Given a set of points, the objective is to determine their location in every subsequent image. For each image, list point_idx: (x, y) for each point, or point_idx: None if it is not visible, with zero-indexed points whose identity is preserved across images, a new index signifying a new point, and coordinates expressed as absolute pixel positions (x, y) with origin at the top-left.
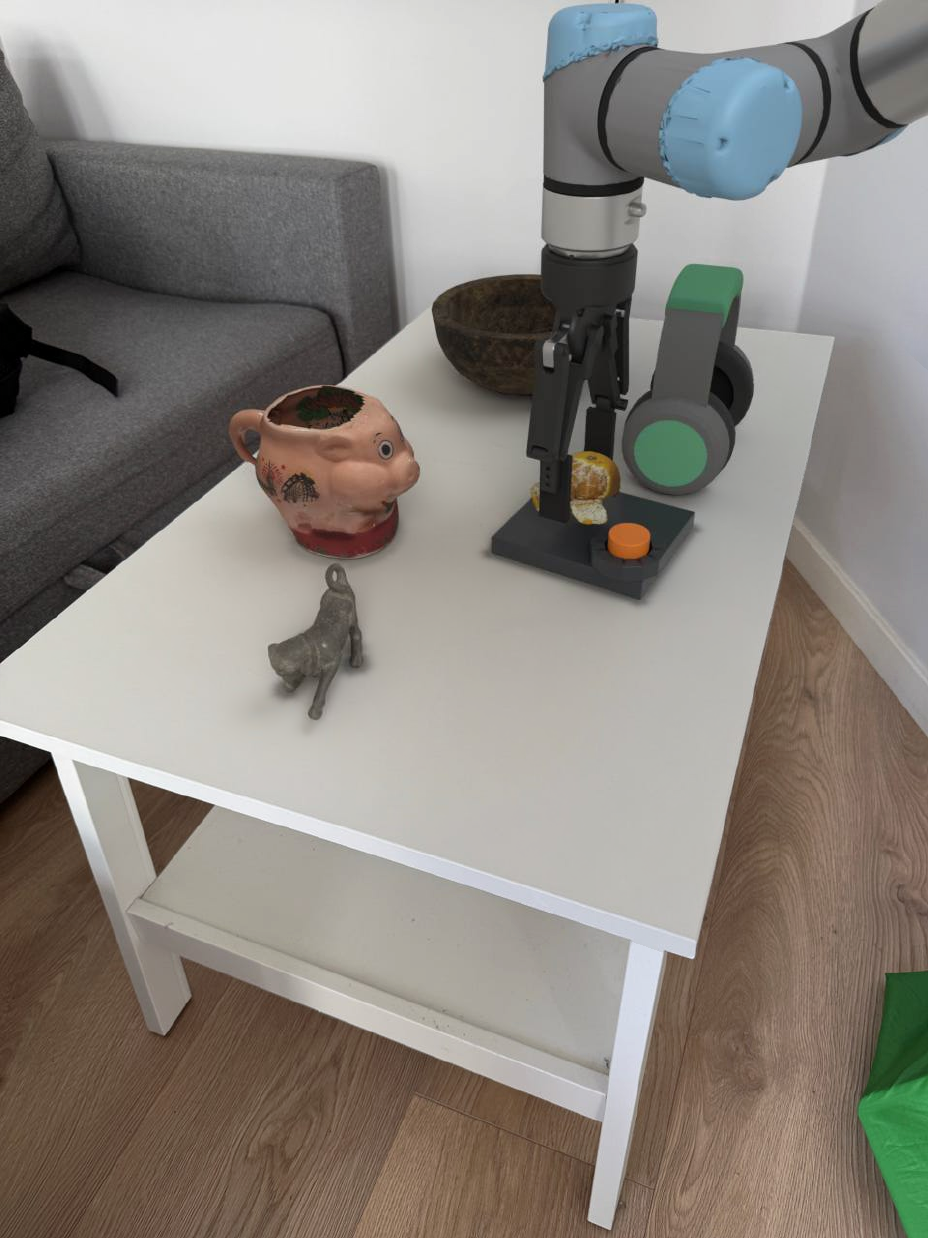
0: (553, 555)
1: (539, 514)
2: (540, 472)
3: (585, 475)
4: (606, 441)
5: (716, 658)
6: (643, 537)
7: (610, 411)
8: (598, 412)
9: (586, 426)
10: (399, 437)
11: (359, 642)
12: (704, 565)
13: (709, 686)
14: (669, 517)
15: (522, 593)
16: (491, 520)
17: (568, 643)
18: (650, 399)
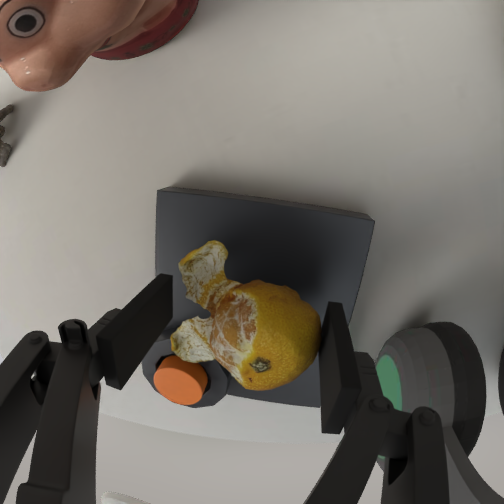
0: None
1: (159, 274)
2: (118, 313)
3: (219, 354)
4: (322, 380)
5: (138, 410)
6: (178, 399)
7: (340, 426)
8: (332, 409)
9: (336, 359)
10: (11, 40)
11: (1, 157)
12: (252, 406)
13: (112, 404)
14: (298, 389)
15: (119, 254)
16: (247, 148)
17: (87, 315)
18: (445, 424)
